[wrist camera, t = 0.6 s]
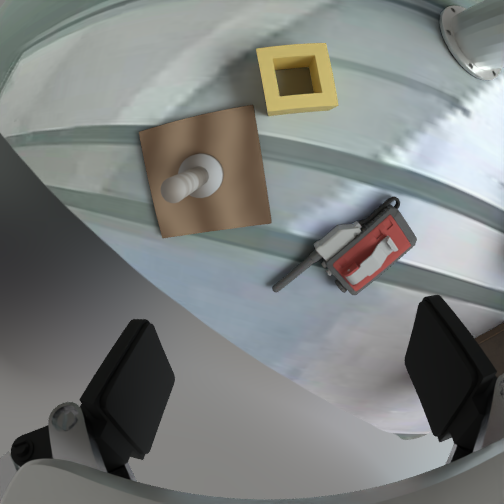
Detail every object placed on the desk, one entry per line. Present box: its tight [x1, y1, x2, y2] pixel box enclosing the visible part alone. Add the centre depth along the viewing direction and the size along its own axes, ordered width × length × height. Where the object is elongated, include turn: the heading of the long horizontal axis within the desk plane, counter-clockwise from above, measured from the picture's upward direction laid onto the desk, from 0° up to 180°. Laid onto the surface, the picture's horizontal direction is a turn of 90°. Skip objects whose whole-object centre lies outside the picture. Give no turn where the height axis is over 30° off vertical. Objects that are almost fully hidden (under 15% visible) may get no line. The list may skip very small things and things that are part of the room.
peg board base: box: [139, 105, 271, 238], centre depth 27 cm, size 14×14×11 cm
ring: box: [256, 43, 338, 116], centre depth 24 cm, size 7×7×5 cm
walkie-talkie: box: [272, 197, 417, 295], centre depth 33 cm, size 9×4×20 cm
